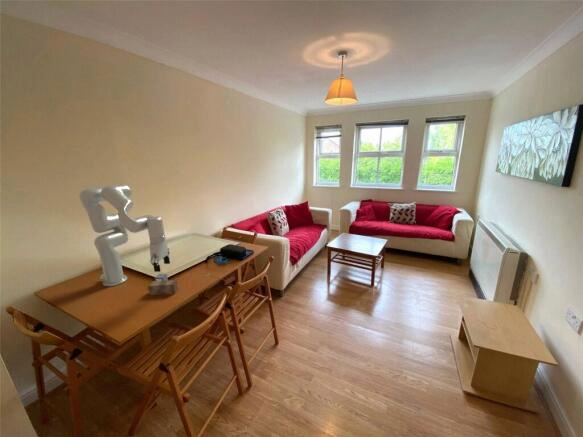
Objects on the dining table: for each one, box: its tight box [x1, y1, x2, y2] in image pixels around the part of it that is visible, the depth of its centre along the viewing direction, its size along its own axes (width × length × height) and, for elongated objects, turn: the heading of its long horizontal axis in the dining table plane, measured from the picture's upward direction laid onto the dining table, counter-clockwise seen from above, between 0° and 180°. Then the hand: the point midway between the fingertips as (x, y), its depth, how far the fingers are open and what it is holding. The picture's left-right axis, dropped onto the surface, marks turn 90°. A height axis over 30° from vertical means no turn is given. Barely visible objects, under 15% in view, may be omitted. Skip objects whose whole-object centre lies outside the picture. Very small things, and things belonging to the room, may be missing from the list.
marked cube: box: [154, 273, 169, 281], centre depth 149 cm, size 5×5×5 cm
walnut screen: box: [147, 279, 179, 296], centre depth 139 cm, size 14×5×6 cm, turn 96°
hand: (162, 267), depth 136 cm, fingers open, 9 cm apart
